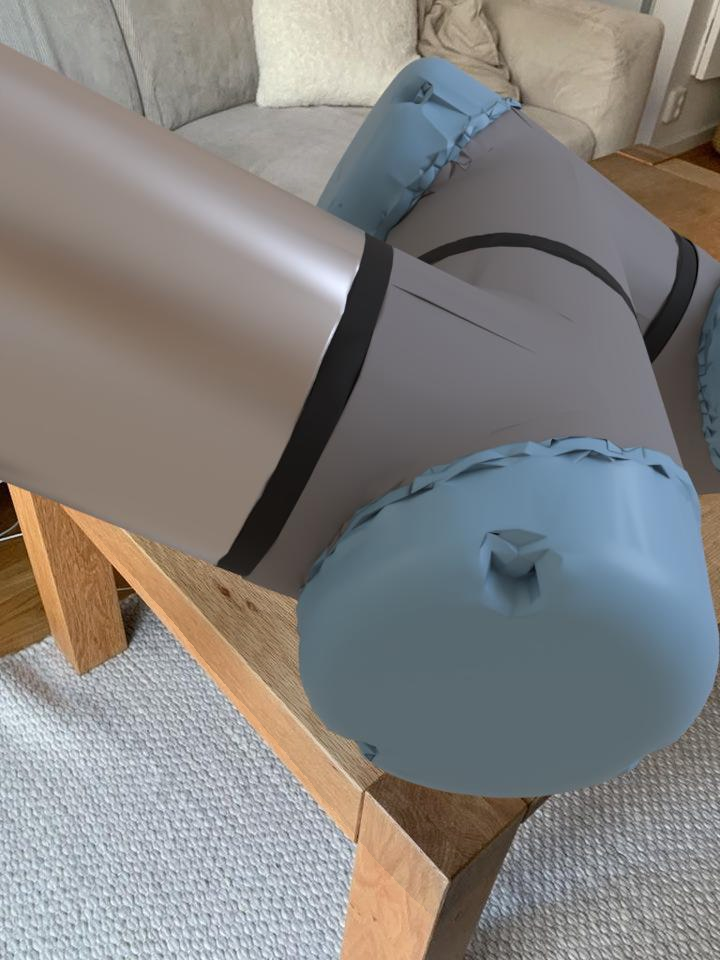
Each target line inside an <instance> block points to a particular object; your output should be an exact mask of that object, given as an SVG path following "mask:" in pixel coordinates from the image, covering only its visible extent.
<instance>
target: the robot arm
mask: <svg viewBox="0 0 720 960" xmlns="http://www.w3.org/2000/svg"><path fill="white" fill-rule="evenodd" d="M523 107H524V105H523V104H522V103H520V102H519V101H517V100H516V99H514V98H513V97H509V96H507V97H506V96H505V97H504V96H502V95H500V94H499V93H497V92H496V91H494V90H493V89H491V88H490V87H488V86H486V85H485V84H483V83H482V82H480V81H479V80H477V79H476V78H474V77H472V76H471V75H470V74H468V73H467V72H465V71H464V70H462V69H461V68H459V67H458V66H456V65H455V64H453V63H452V62H450V61H449V60H447V59H445V58H442V57H439V56H425V57H420V58H418V59H415V60H412V61H411V62H409V63H408V64H407V65H406V66H404V67H403V68H402V69H401V70H399V72H398V73H397V74H396V75H395V77H394V78H393V79H392V80H391V82H390V83H389V84H388V86H387V87H386V89H385V90H384V91H383V92H382V93H381V95H380V96H379V98H377V100H376V102H375V104H374V105H373V107H372V108H371V110H370V111H369V113H368V114H367V115H366V118H365V119H364V120H363V122H362V124H361V125H360V127H359V128H358V130H357V131H356V133H355V135H354V137H353V138H352V140H351V141H350V143H349V145H348V146H347V148H346V150H345V152H344V153H343V155H342V157H341V158H340V159H339V161H338V163H337V165H336V166H335V169H334V170H333V172H332V174H331V176H330V177H329V179H328V181H327V183H326V185H325V187H324V189H323V191H322V193H321V194H320V196H319V198H318V200H317V203H316V204H313V203H311V202H309V201H308V200H305V199H303V198H301V197H300V196H297V195H296V194H294V193H291V192H290V191H288V190H286V189H284V188H283V187H280V186H278V185H276V184H275V183H273V182H270V181H269V180H267V179H265V178H263V177H261V176H259V175H257V174H255V173H253V172H251V171H250V170H247V169H246V168H244V167H242V166H241V165H240V166H239V165H238V164H236V163H234V162H232V161H231V160H228V159H226V158H224V157H223V156H220V155H219V154H217V153H215V152H213V151H211V150H209V149H207V148H206V147H203V146H201V145H199V144H197V143H195V142H194V141H192V140H189V139H188V138H187V137H186V138H185V137H184V136H182V135H180V134H178V133H176V132H175V131H173V130H170V129H168V128H166V127H164V126H163V125H161V124H159V123H157V122H155V121H154V120H151V119H149V118H148V117H145V116H144V115H142V114H139V113H138V112H136V111H134V110H132V109H130V108H128V107H126V106H124V105H122V104H121V103H118V102H116V101H115V100H113V99H111V98H109V97H107V96H105V95H104V94H101V93H99V92H97V91H95V90H93V89H92V88H89V87H87V86H86V85H83V84H82V83H80V82H78V81H76V80H74V79H73V78H70V77H68V76H66V75H64V73H63V74H62V73H61V72H59V71H57V70H55V69H53V68H52V67H49V66H47V65H45V64H43V63H41V62H40V61H37V60H35V59H33V58H31V57H30V56H28V55H26V54H25V53H23V52H20V51H18V50H17V49H15V48H13V47H11V46H9V45H7V44H6V43H3V42H1V41H0V481H1V482H3V483H6V484H8V485H11V486H14V487H15V488H19V489H21V490H24V491H26V492H29V493H31V494H34V495H36V496H39V497H42V498H44V499H47V500H49V501H52V502H54V503H55V504H56V503H57V504H59V505H62V506H64V507H67V508H69V509H72V510H74V511H77V512H79V513H82V514H85V515H87V516H90V517H92V518H95V519H97V520H100V521H102V522H105V523H107V524H110V525H112V526H115V527H117V528H118V529H119V528H120V529H122V530H124V531H127V532H129V533H132V534H135V535H138V536H140V537H142V538H145V539H147V540H150V541H153V542H155V543H157V544H160V545H163V546H165V547H168V548H169V549H173V550H175V551H177V552H180V553H182V554H184V555H187V556H190V557H193V558H195V559H198V560H200V561H203V562H205V563H208V564H210V565H213V566H214V567H215V568H219V569H221V570H224V571H227V572H229V573H232V574H235V575H236V576H239V577H241V579H242V580H243V581H246V582H249V583H251V584H254V585H256V586H258V587H261V588H263V589H267V590H268V591H272V592H274V593H277V594H279V595H281V596H286V597H288V598H291V599H293V600H294V601H297V602H296V603H297V604H296V607H295V613H296V620H297V623H296V628H295V630H296V633H297V635H298V637H299V641H298V672H299V677H300V681H301V685H302V688H303V690H304V693H305V695H306V697H307V700H308V702H309V705H310V707H311V710H312V712H314V714H315V715H316V716H317V718H318V719H319V720H320V722H321V723H322V724H323V725H324V726H325V728H326V729H327V730H328V731H329V732H332V733H334V734H336V735H338V736H340V737H342V738H343V739H345V740H349V741H350V740H351V741H353V742H355V744H357V748H358V749H359V752H360V755H361V756H362V758H363V759H364V760H366V761H367V762H368V763H370V764H372V765H374V767H376V768H378V769H380V770H381V771H383V772H385V773H387V774H388V775H391V776H393V777H396V778H398V779H401V780H403V781H405V782H408V783H411V784H414V785H418V786H421V787H424V788H428V789H432V790H437V791H441V792H444V793H445V792H446V793H450V794H460V795H468V796H473V797H474V796H475V797H483V798H494V799H504V798H505V799H520V798H537V797H538V798H539V797H545V796H546V797H547V796H555V795H560V794H564V793H570V792H573V791H578V790H583V789H586V788H590V787H595V786H599V785H601V784H603V783H606V782H609V781H611V780H615V779H617V778H620V777H621V776H624V775H626V774H628V773H630V772H632V771H633V770H634V769H636V767H637V766H638V765H639V764H640V763H641V762H642V761H643V759H645V758H646V757H647V756H648V755H649V754H651V753H656V752H662V750H663V749H664V748H666V747H669V746H672V745H673V744H674V743H676V741H677V740H678V739H679V738H681V737H682V736H683V735H684V734H685V733H686V732H687V730H689V729H690V727H691V726H692V724H693V723H694V722H695V721H696V719H697V718H698V716H699V715H700V714H701V712H702V711H703V709H704V707H705V706H706V703H707V700H708V698H709V697H710V695H711V692H712V691H713V688H714V684H715V680H716V676H717V671H718V668H719V663H720V633H719V627H718V622H717V621H718V620H717V616H716V611H715V606H714V601H713V597H712V591H711V584H710V577H709V573H708V572H709V571H708V567H707V561H706V554H705V549H704V543H703V536H702V531H701V530H702V506H701V502H700V497H699V496H704V495H717V494H720V261H718V260H717V259H715V258H714V257H713V256H712V255H711V254H709V253H708V252H706V250H704V249H703V248H702V247H700V246H699V245H698V244H696V243H694V241H692V240H691V239H688V238H687V237H686V236H685V235H680V233H678V232H677V231H675V230H674V229H673V228H671V227H669V226H668V225H667V224H665V222H662V221H661V220H660V219H659V218H658V217H656V216H655V215H654V214H652V213H651V212H650V211H649V210H647V209H646V208H645V207H643V205H641V204H640V203H639V202H637V201H636V200H635V199H634V198H633V197H631V196H630V195H629V194H627V193H626V192H625V191H623V190H622V189H621V188H619V187H618V186H617V185H616V184H614V183H613V182H612V181H611V180H609V179H608V178H607V177H606V176H604V175H603V174H602V173H600V172H599V171H598V170H597V169H595V168H594V167H593V166H592V165H591V164H589V163H588V162H587V161H585V160H584V159H583V158H582V157H580V156H579V155H578V154H577V153H575V152H574V151H573V150H571V149H570V148H569V147H567V146H566V145H565V144H564V143H562V142H561V141H560V140H558V139H557V138H556V137H555V136H553V134H551V133H550V132H549V131H547V130H546V129H544V128H543V127H542V126H541V125H539V123H537V122H535V120H533V119H532V118H531V117H530V116H528V115H527V114H526V113H524V111H523V110H522V109H523Z"/></svg>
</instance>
